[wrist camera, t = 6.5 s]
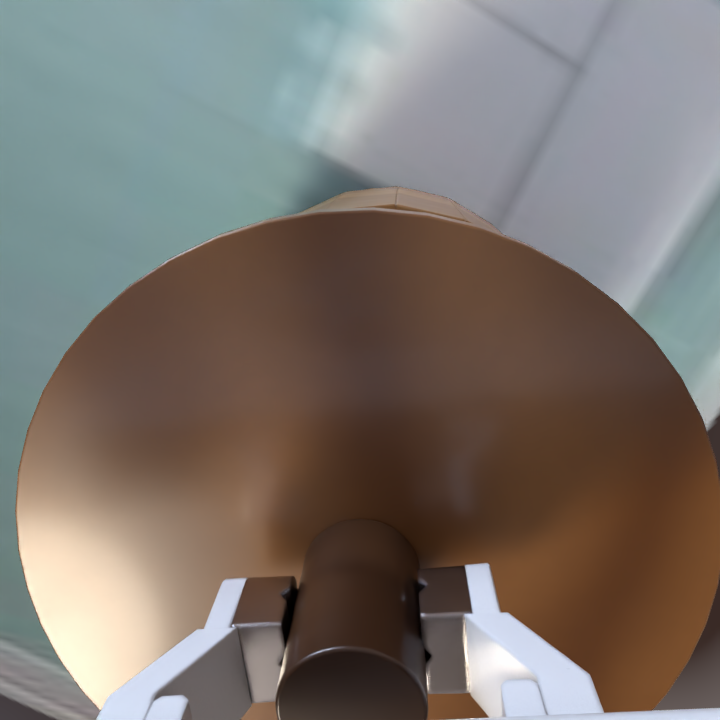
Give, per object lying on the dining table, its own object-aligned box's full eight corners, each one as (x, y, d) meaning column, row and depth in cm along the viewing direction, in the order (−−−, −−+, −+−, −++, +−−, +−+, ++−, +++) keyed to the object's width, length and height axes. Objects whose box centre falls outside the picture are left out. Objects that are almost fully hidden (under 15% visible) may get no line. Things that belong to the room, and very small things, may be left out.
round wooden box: (261, 486, 35) (212, 604, 26) (214, 204, 31) (136, 229, 22) (543, 468, 34) (594, 586, 25) (536, 171, 30) (595, 183, 21)
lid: (118, 795, 19) (22, 1021, 14) (-39, 243, 14) (-265, 296, 9) (686, 774, 18) (797, 1013, 13) (720, 165, 13) (917, 178, 8)
